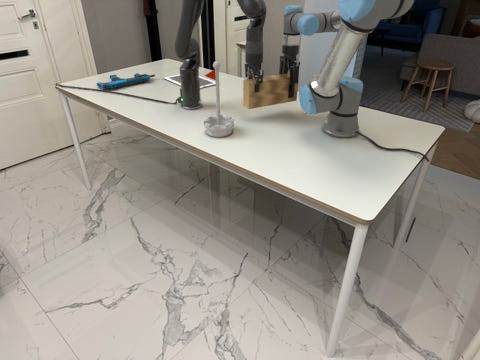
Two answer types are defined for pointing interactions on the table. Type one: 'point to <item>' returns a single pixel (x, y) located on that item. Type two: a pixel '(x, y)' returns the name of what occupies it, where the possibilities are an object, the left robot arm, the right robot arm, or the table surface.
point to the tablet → (203, 81)
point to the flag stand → (218, 111)
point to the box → (268, 91)
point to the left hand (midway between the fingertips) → (253, 89)
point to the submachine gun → (124, 81)
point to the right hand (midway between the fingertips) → (287, 95)
